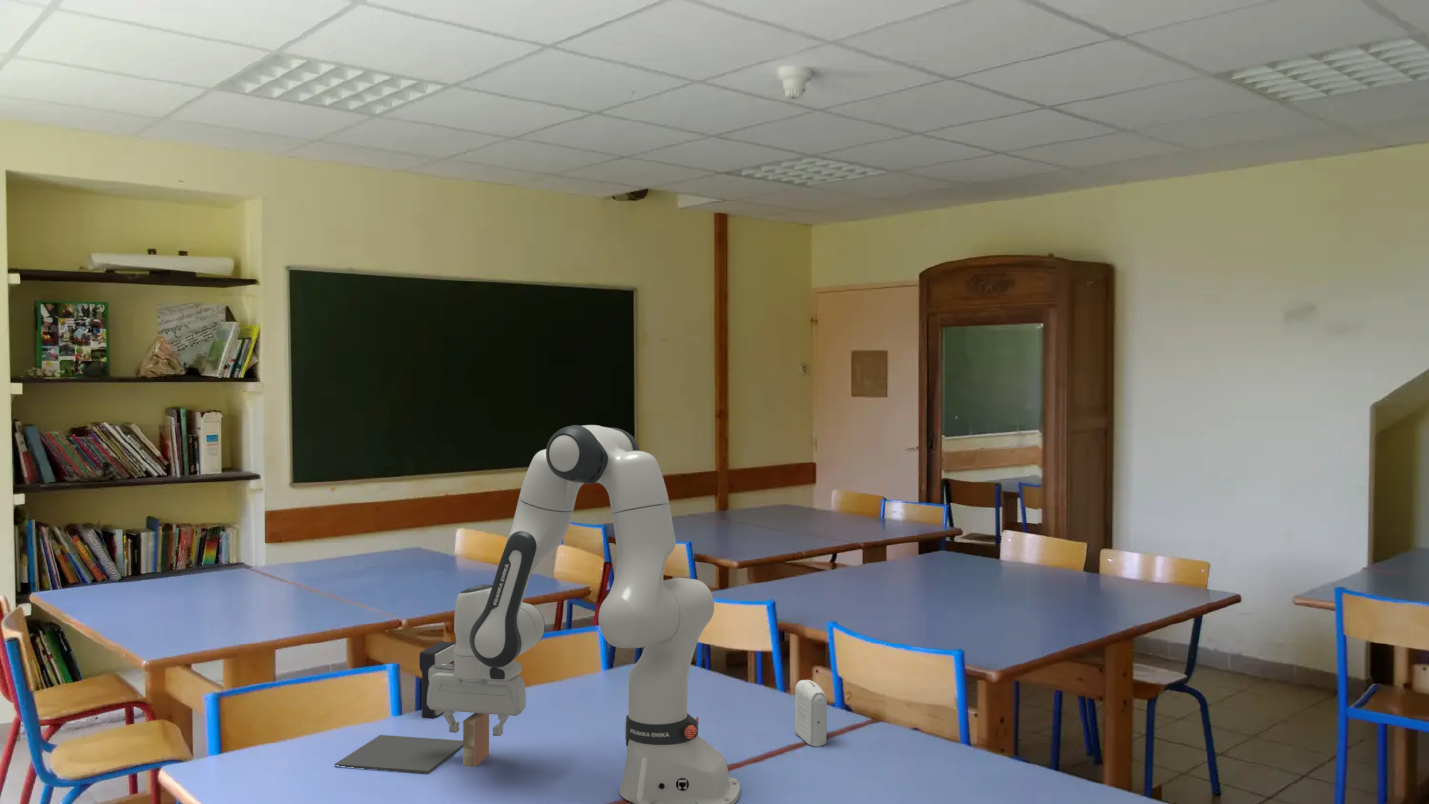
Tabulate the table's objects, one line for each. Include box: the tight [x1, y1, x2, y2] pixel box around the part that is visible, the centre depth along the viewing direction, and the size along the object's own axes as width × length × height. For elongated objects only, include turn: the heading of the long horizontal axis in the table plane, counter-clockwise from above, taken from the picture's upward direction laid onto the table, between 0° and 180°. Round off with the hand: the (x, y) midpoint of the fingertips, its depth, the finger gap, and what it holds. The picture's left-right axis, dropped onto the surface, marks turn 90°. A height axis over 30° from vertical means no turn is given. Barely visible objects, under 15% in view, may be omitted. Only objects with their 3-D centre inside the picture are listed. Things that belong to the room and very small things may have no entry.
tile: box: [462, 713, 490, 768], centre depth 212 cm, size 2×7×9 cm, turn 169°
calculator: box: [419, 641, 456, 719], centre depth 245 cm, size 11×4×15 cm, turn 168°
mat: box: [334, 734, 463, 775], centre depth 215 cm, size 20×18×1 cm
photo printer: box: [794, 679, 828, 747], centre depth 225 cm, size 10×4×12 cm, turn 17°
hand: (475, 733), depth 212 cm, fingers open, 8 cm apart
